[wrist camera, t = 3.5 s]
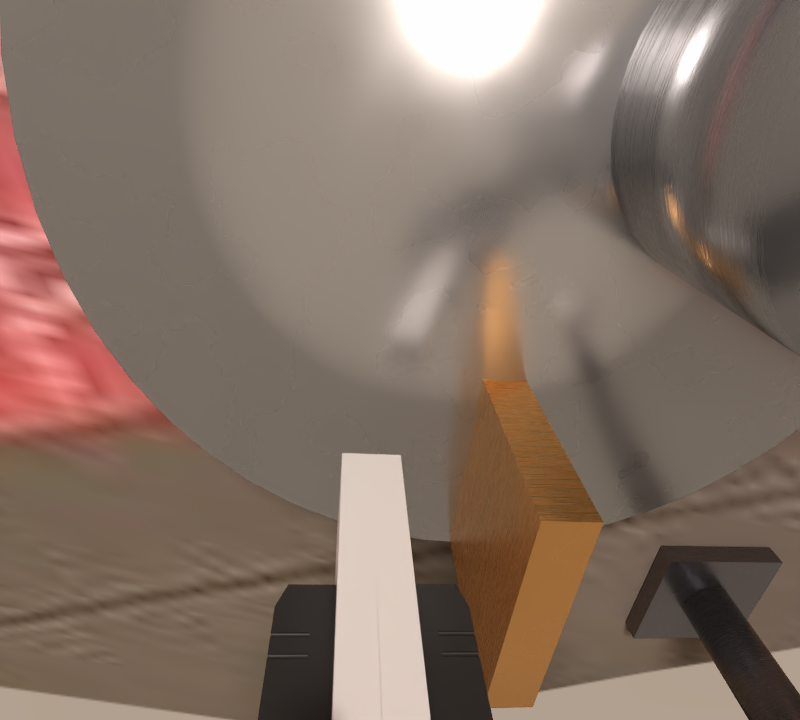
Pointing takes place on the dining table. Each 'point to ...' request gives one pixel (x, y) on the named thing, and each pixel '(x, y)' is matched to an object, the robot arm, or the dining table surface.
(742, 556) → the dial post
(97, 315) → the turntable
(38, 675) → the dining table surface
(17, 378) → the dining table surface
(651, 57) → the cover
